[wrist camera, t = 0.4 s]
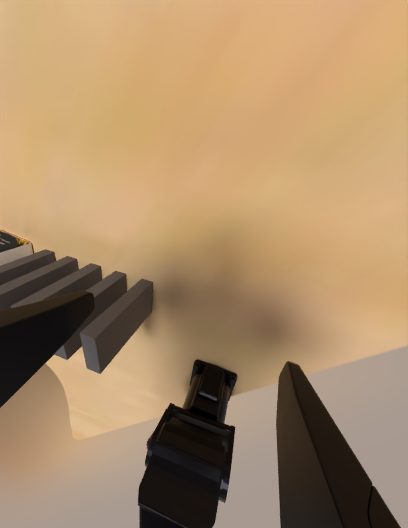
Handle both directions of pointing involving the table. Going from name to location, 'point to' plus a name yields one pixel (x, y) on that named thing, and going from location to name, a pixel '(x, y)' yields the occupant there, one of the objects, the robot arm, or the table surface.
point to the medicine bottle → (13, 248)
